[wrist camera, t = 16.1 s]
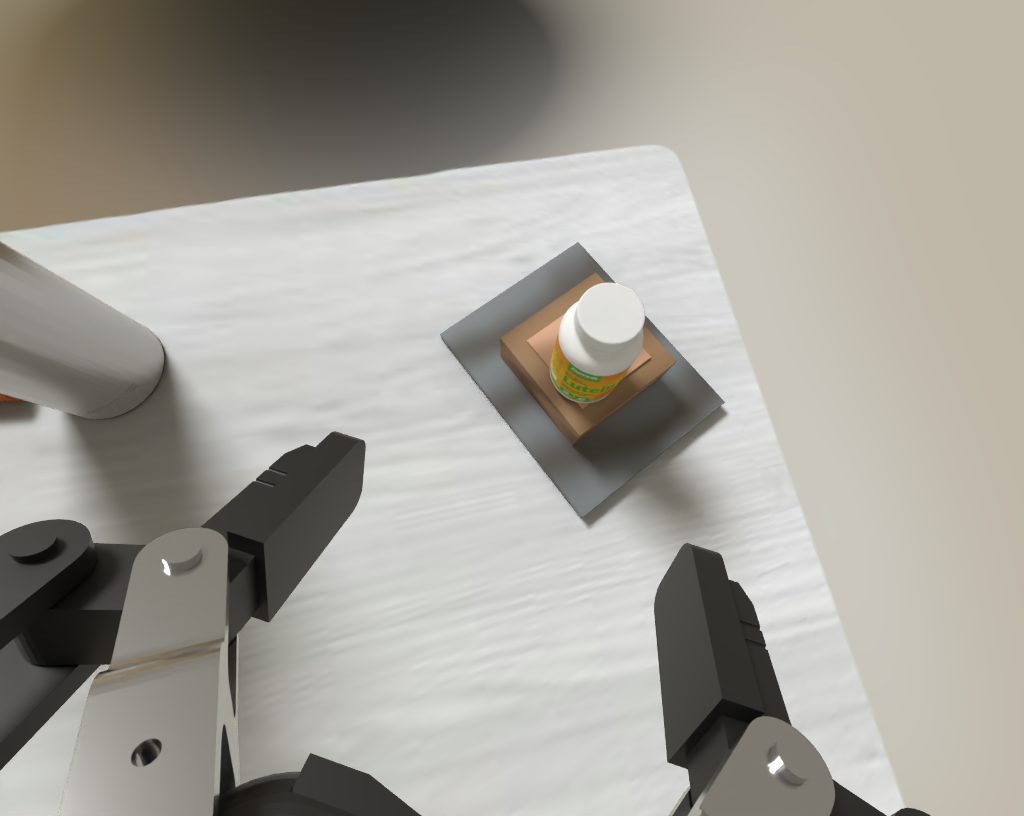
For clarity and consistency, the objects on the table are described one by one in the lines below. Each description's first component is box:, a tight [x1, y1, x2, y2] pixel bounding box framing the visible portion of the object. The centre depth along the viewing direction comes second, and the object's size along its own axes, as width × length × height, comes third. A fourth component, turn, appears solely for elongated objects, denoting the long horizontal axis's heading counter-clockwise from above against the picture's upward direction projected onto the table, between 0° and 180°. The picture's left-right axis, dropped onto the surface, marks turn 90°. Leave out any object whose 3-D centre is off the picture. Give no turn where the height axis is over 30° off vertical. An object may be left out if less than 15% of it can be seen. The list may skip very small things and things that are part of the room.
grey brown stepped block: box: [440, 242, 725, 518], centre depth 39 cm, size 20×16×5 cm
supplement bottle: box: [550, 283, 645, 403], centre depth 31 cm, size 5×5×10 cm
